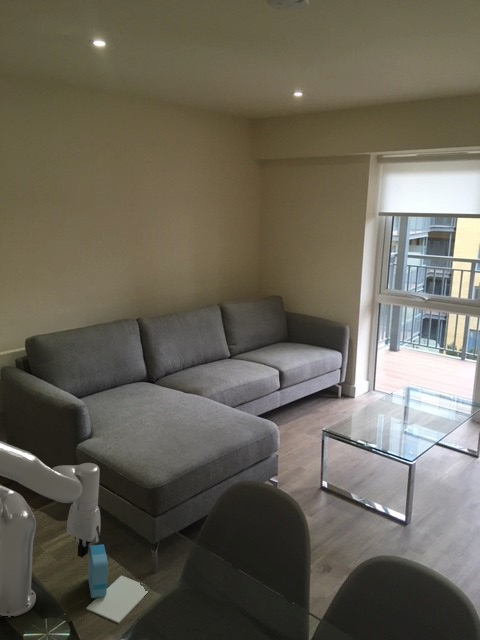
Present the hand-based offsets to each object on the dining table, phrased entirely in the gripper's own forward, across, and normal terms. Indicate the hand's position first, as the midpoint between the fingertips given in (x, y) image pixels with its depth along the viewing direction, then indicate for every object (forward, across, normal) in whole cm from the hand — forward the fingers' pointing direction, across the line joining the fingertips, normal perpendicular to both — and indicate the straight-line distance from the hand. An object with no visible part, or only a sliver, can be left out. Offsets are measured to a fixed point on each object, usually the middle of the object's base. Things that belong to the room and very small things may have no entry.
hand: (82, 554), depth 174 cm
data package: (+10, +6, 0) cm, 12 cm away
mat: (+10, +15, 0) cm, 18 cm away
